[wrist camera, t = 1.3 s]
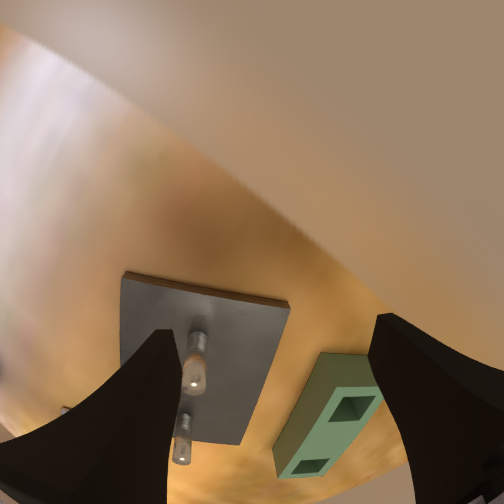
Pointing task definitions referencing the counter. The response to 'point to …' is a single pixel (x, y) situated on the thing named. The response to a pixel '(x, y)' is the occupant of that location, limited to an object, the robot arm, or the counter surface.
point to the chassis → (206, 352)
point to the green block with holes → (327, 416)
